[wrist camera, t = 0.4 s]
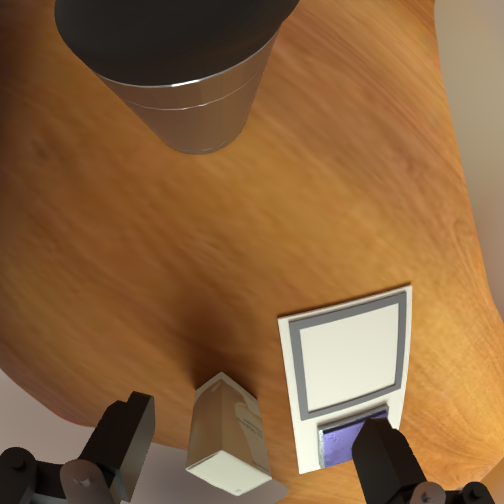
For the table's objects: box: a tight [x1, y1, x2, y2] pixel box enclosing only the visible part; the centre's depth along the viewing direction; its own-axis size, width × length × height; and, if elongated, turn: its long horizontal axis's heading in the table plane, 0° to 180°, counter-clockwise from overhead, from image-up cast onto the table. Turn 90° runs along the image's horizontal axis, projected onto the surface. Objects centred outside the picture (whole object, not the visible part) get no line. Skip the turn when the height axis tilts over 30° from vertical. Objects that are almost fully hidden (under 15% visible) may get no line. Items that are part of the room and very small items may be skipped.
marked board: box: [277, 285, 412, 474], centre depth 32 cm, size 27×16×1 cm, turn 10°
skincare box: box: [186, 372, 272, 496], centre depth 25 cm, size 6×4×12 cm
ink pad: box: [317, 403, 389, 468], centre depth 33 cm, size 9×10×2 cm
